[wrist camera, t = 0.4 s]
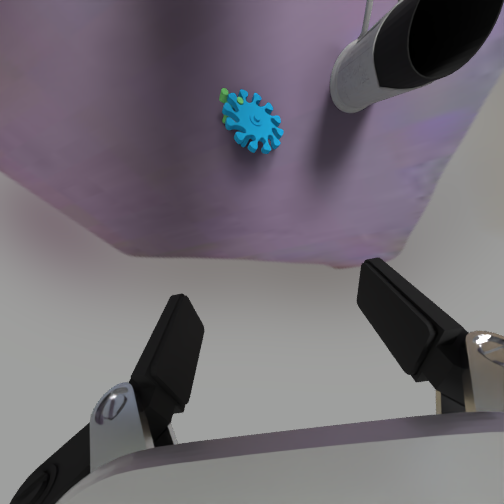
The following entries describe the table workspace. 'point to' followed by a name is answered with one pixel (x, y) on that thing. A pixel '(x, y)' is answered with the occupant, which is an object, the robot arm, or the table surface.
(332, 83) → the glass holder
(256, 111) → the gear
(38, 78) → the table surface
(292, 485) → the robot arm
